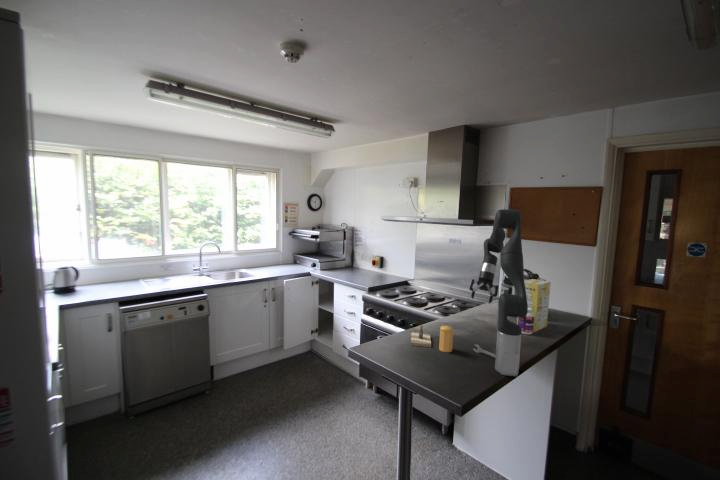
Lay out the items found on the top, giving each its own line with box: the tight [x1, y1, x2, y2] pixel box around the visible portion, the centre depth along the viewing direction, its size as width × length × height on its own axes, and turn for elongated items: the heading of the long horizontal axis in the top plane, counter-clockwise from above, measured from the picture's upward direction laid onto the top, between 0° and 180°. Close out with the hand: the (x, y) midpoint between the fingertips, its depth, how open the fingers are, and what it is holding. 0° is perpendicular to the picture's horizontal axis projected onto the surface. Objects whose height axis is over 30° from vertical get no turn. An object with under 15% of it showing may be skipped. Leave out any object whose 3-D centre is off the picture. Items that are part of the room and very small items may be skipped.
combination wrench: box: [472, 344, 496, 359], centre depth 147 cm, size 4×1×20 cm
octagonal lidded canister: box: [438, 325, 454, 353], centre depth 154 cm, size 6×6×11 cm
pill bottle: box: [518, 308, 534, 335], centre depth 182 cm, size 8×8×14 cm
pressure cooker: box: [499, 268, 547, 296], centre depth 219 cm, size 30×28×32 cm
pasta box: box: [516, 279, 551, 333], centre depth 193 cm, size 18×10×28 cm, turn 129°
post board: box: [410, 324, 432, 348], centre depth 164 cm, size 14×10×8 cm
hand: (481, 300), depth 169 cm, fingers open, 8 cm apart
